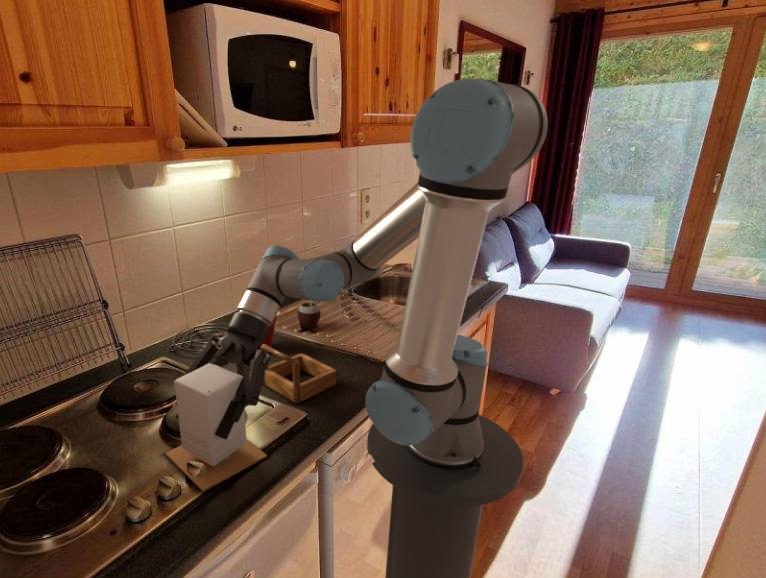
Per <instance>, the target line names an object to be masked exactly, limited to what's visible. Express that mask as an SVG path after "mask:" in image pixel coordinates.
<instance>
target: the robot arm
mask: <svg viewBox="0 0 766 578" xmlns="http://www.w3.org/2000/svg"><path fill="white" fill-rule="evenodd" d="M548 126H549V125H548V115H547V109H546V108H545V105H544V104H543V101H542V100H541V99H540V97H539V96H538V95H537V94H536V93H535V92H534V91H533V90H530V89H529V88H528V87H525V86H522V85H519V84H513V83H505V82H500V81H496V80H492V79H485V78H483V77H480V78H479V77H478V78H464V79H463V78H462V79H457V80H453V81H449V82H448V83H445V84H443V85H442V86H440V87H439V88H437V89H436V90H434V91H433V93H432V94H430V95H429V96H428V97H427V98H426V99H425V100H424V102H423V103H422V105H421V106H420V108H419V109H418V111H417V113H416V115H415V117H414V120H413V123H412V126H411V131H410V138H409V139H410V141H409V142H410V153H411V155H412V158H414V159H415V164H416V166H417V169H419V175H418V181H417V182H416V183H415V184H414V185H413V186H412V187H411V188H409V190H407V191H406V192H405V193H404V194H403V195H402V196H401V197H400V198H399V199H398V200H397V201H395V202H394V203H393V204H392V205H391V206H390V207H388V208H387V209H386V210H385V211H384V212H383V213H382V214H381V215H380V216H379V217H378V218H376V219H375V220H374V221H373V222H372V223H371V224H369V226H368V227H366V228H365V229H364V230H363V231H362V232H361V233H360V234H359V235H358V236H356V237H355V238H354V239H353V240H352V241H351V242H350V243H349V244H347V245H346V246H345V247H344V248H343V249H340V250H337V251H333V252H329V253H326V254H322V255H318V256H314V257H312V258H302V259H301V258H300V256H299V255H298V254H297V253H296V252H294V250H292V249H291V248H287V246H286V247H285V246H282V245H275V244H274V245H271V246H269V247H268V248H267V249H266V250H265V253H264V254H263V256H262V257H261V259H260V260H259V262H258V265H257V267H256V269H255V271H254V273H253V276H252V278H251V279H250V281H249V284H248V286H247V287H246V290H245V292H244V294H243V296H242V298H241V299H240V301H239V303H238V305H237V307H236V310H237V312H234V314H233V316H232V317H231V320H230V321H229V324H228V326H227V333H226V334H225V335H224V336H223V337H217V336H216V335H215V334H212V335H210V336H209V339H208V342H207V343H206V345H205V347H204V348H203V349H202V351H201V352H200V353H199V354H198V356H197V357H196V358H195V360H194V361H193V362H192V364H191V365H190V366H189V368H188V369H187V370H186V372H185V373H184V375H186V374H189V373H191V372H193V371H195V370H197V369H199V368H201V367H203V366H204V365H207V364H209V363H210V364H213V365H214V364H215V365H217V366H219V367H222V368H224V366H227V365H228V364H235V366H236V374H238V375H241V376H243V378H242V380H241V382H240V384H239V387H238V389H237V391H236V398H235V399H234V401H236V402H234V401H232V400H231V402H230V404H229V406H228V408H227V410H226V413H225V415H224V417H223V419H222V421H221V423H220V425H219V427H218V429H217V432H216V434H215V435H216V436H219V437H221V438H223V439H226V440H227V437H228V435H229V433H230V431H231V429H232V427H233V425H234V422H236V423H237V422H238V421H239V419H240V417H241V415H242V413H243V411H244V409H245V410H246V407H248V406H253V407H256V406H257V405H258V403H259V400H260V396H261V395H260V394H261V392H262V387H263V379H264V374H265V370H266V367H267V365H268V366H269V363H270V361H271V359H272V355H270V354H269V352H268V353H266V352H265V351H263V350H262V351H260V346H261V345H262V344H263V343H264V341H265V339H266V337H267V335H268V333H269V330H270V329H269V327H268V326H271V325H272V324H273V322H274V320H275V317H276V315H277V313H278V311H279V312H280V309H281V307H282V306H283V305H282V304H283V302H284V301H285V299H286V298H289V299H297V300H298V299H299V300H306V301H310V300H311V301H312V302H314V303H315V302H316V303H317V302H318V303H319V302H320V303H321V302H332V301H334V300H336V299H337V298H338V296H339V295H340V294H341V293H342V291H343V290H344V289H347V288H349V287H352V286H355V285H358V284H364V283H366V282H368V281H369V280H371V279H373V278H375V277H376V276H377V275H378V273H379V272H380V270H381V267H382V266H384V265H385V264H386V263H388V262H389V261H390V260H391V259H393V258H394V257H395V256H397V255H398V254H399V253H400V252H401V251H402V252H403V250H405V248H407V247H408V246H410V245H411V244H412V243H413V242H415V241H416V240H417V244H416V250H415V255H414V260H413V264H412V269H411V275H410V280H409V285H408V290H407V295H406V299H405V306H404V310H403V315H402V316H403V317H402V320H401V324H400V330H399V335H398V340H397V345H395V346H394V347H392V348H390V349H389V350H388V351H387V352H386V355H385V358H384V363H383V367H382V368H383V369H382V373H381V378H380V379H379V380H377V381H375V382H374V383H372V384H371V386H370V387H369V388H368V390H367V391H366V394H365V399H364V400H365V401H364V402H365V403H364V405H365V410H366V413H367V416H368V418H369V420H371V422H372V424H373V423H374V426H375V427H376V428H377V429H378V431H379V432H380V433H381V434H383V435H384V436H385V437H386V438H388V439H389V440H391V441H393V442H395V443H397V444H400V445H405V446H406V447H407V449H408V451H409V452H410V453H411V454H412V455H413V456H414V457H416V458H417V459H418V460H420V461H422V462H424V463H426V464H428V465H431V466H434V467H438V468H443V469H462V468H467V467H470V466H472V465H474V464H476V466H477V467H478V468H480V467H482V464H481V463H480V462H479V460H480V459H481V457H482V454H483V449H484V440H483V436H482V431H481V427H480V422H479V418H478V416H479V415H480V408H481V402H482V396H483V390H484V384H485V378H486V370H487V367H488V365H489V364H488V355H489V353H488V349H487V348H486V346H485V345H484V344H482V342H480V341H478V340H476V339H475V338H474V339H473V338H471V337H468V336H465V335H461V334H459V330H460V327H461V322H462V319H463V314H464V311H465V308H466V303H467V299H468V295H469V291H470V288H471V284H472V280H473V276H474V272H475V268H476V265H477V262H478V261H477V260H478V258H479V257H478V256H479V253H480V249H481V245H482V242H483V238H484V233H485V230H486V227H487V223H488V218H489V215H490V211H491V210H492V209H493V208H494V207H496V206H498V205H499V204H501V203H502V202H504V201H505V200H506V198H507V193H508V190H509V187H510V183H511V180H512V176H513V174H514V173H516V172H517V171H519V170H520V169H522V168H524V167H526V165H528V164H529V163H531V161H532V160H533V159H534V158H535V157H536V156H537V155H538V153H539V152H540V151H541V149H542V146H543V145H544V143H545V140H546V137H547V134H548V133H547V132H548ZM253 359H255V360H254V363H253V366H252V360H253ZM251 370H252V371H251ZM250 372H251V374H250ZM175 418H177V419H179V417H178V412H177V413H176V416H175Z"/></svg>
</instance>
